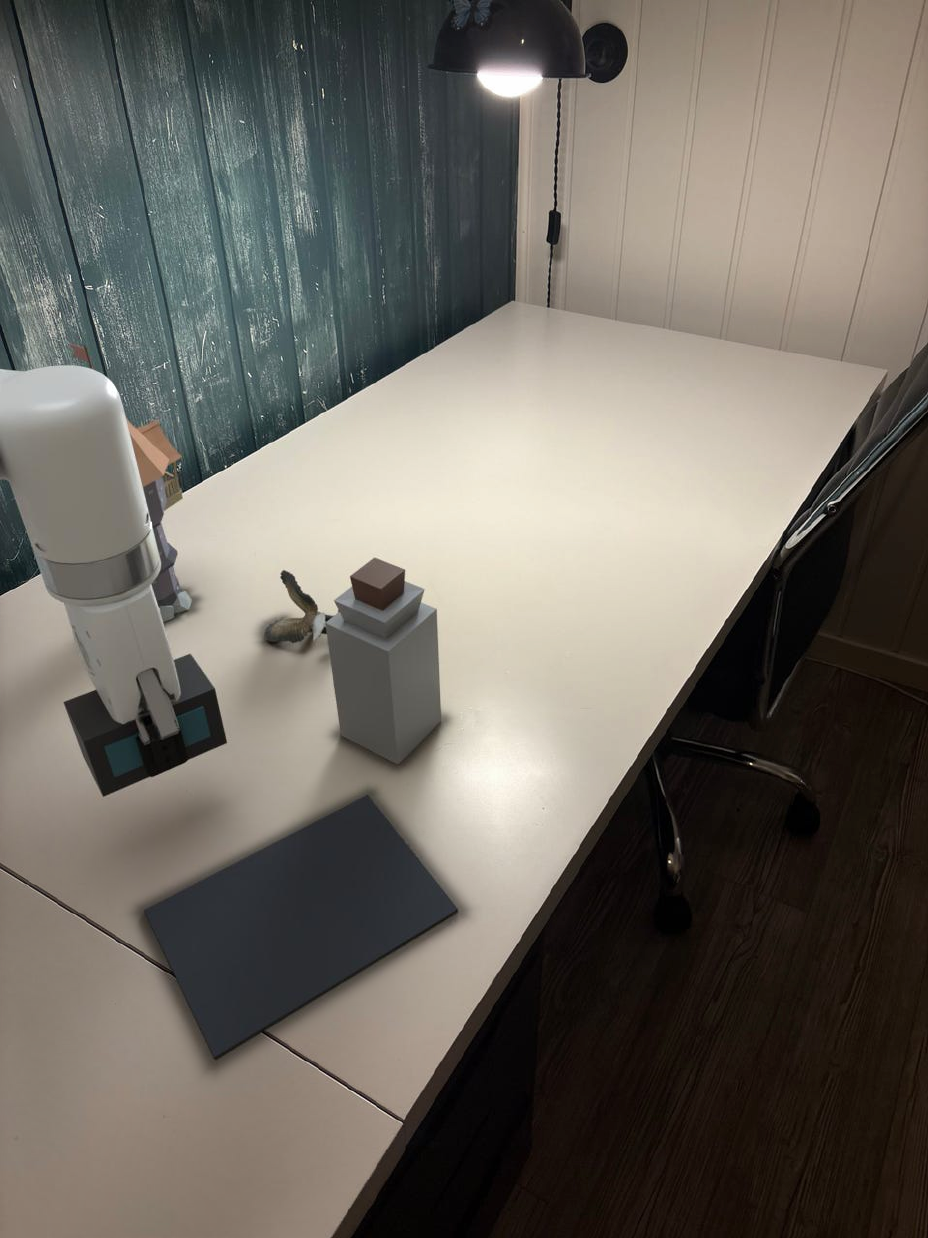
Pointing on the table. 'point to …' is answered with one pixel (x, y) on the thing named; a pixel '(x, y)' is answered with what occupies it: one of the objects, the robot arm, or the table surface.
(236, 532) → the table surface
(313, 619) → the eagle figurine
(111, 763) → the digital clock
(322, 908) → the rubber mat
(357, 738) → the perfume bottle
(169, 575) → the model tower
